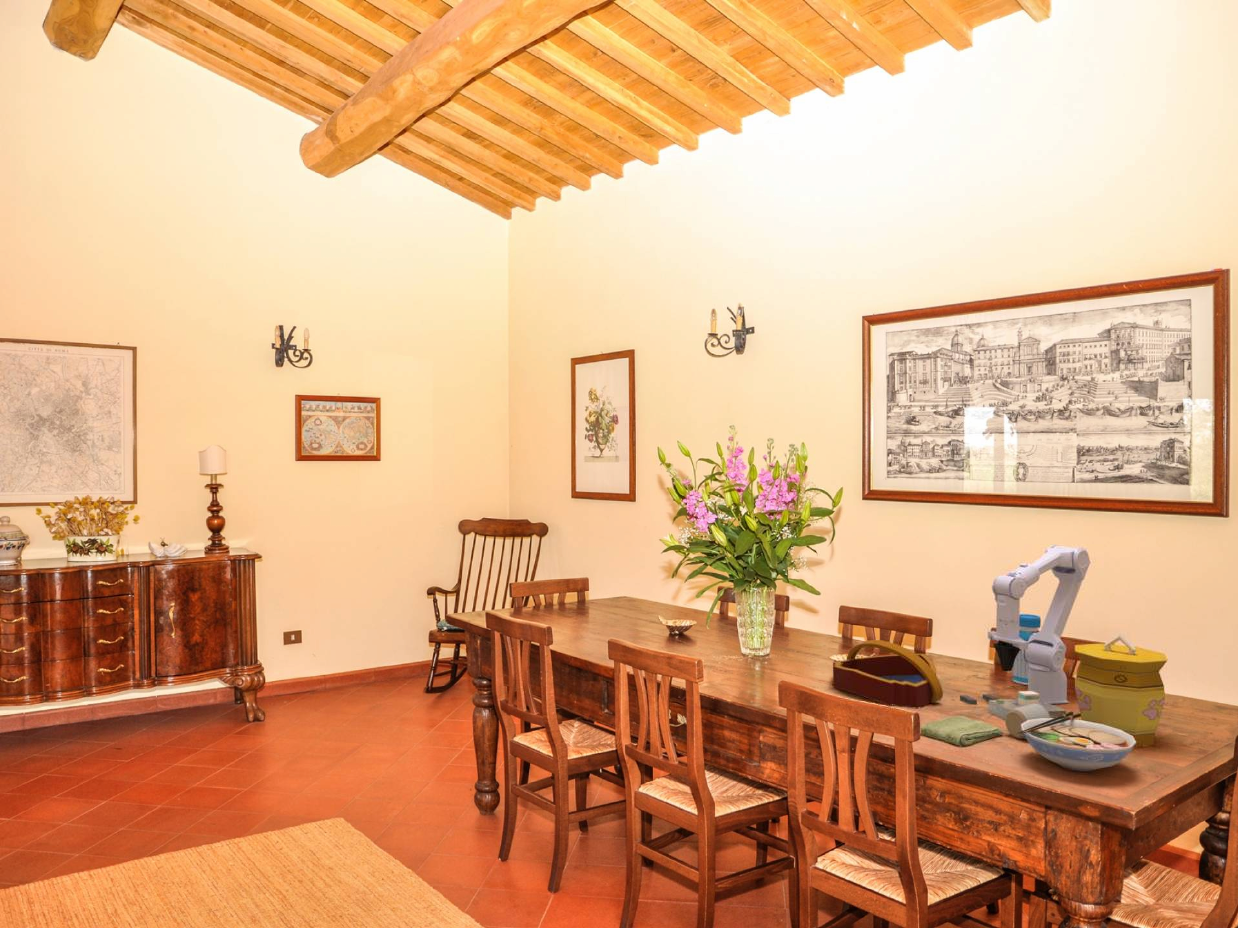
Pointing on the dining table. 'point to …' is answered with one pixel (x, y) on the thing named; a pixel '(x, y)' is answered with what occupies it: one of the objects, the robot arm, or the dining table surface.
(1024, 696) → the small white carton
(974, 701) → the pair of dark blocks
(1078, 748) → the ramen bowl
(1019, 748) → the dining table surface
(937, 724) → the washcloth
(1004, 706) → the port
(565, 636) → the dining table surface
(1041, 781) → the dining table surface
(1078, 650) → the container
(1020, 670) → the beverage bottle
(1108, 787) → the dining table surface
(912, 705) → the decorative basket
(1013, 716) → the grey cylinder
